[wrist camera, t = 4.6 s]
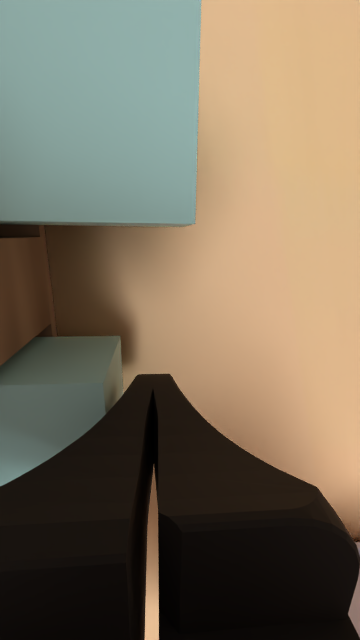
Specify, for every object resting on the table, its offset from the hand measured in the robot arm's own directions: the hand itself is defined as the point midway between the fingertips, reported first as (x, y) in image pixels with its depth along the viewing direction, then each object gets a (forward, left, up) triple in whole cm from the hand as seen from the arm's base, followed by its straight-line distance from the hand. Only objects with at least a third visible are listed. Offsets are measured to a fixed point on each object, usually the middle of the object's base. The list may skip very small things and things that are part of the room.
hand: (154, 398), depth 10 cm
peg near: (+3, -8, -2) cm, 9 cm away
